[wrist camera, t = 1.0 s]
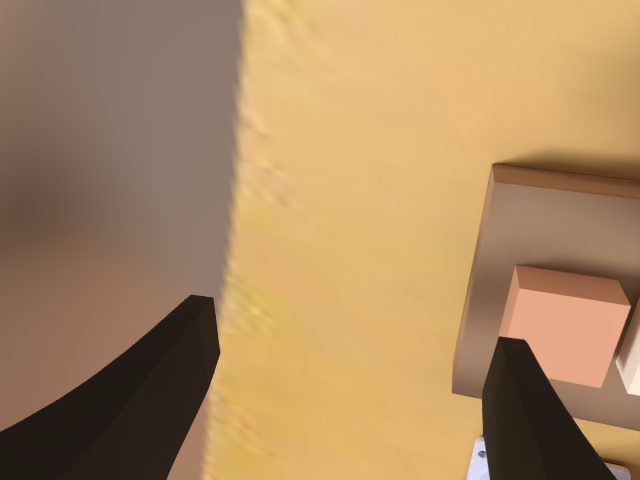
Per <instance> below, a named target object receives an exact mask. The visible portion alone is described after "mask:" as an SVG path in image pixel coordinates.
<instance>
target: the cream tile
mask: <svg viewBox="0 0 640 480" xmlns="http://www.w3.org/2000/svg"><path fill="white" fill-rule="evenodd" d="M616 365H617V368H618V370H619V373H620V375H621V378H622V380H623V383H624V386H625V388H626V391H627V393H628V394H633V395H639V396H640V298H639V301H638V303H637V306H636V309H635V311H634V314H633V317H632V319H631V322H630V325H629V328H628V330H627V333H626V336H625V338H624V341H623V344H622V346H621V349H620V352H619V354H618V357H617V360H616Z"/></svg>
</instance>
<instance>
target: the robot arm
mask: <svg viewBox="0 0 640 480" xmlns="http://www.w3.org/2000/svg"><path fill="white" fill-rule="evenodd" d="M219 356H220V347H219V339H218V331H217V323H216V315H215V307H214V299H213V298H212V297H205V296H197V295H190V296H189V297H188V298H187V299H185V300H184V301H183V302H182V303H181V304H179V306H177V307H176V308H175V309H174V310H173V311H172V312H170V313H169V314H168V315H167V316H166V317H165V318H164V319H163V320H161V321H160V322H159V323H158V324H157V325H156V326H155V327H154V328H152V329H151V330H150V331H149V332H148V333H147V334H145V335H144V336H143V337H142V338H141V339H139V340H138V341H137V342H136V343H135V344H134V345H132V346H131V347H130V348H129V349H128V350H126V351H125V352H124V353H123V354H121V355H120V356H119V357H117V358H116V359H115V360H114V361H112V362H111V363H110V364H108V365H107V366H106V367H104V368H103V369H102V370H101V371H99V372H98V373H97V374H95V375H94V376H92V377H91V378H89V379H88V380H87V381H85V382H84V383H82V384H81V385H79V386H78V387H77V388H75V389H73V390H72V391H71V392H69V393H68V394H66V395H64V396H63V397H61V398H60V399H58V400H56V401H55V402H53V403H51V404H50V405H48V406H46V407H45V408H43V409H41V410H39V411H37V412H36V413H34V414H32V415H30V416H29V417H27V418H25V419H24V420H22V421H20V422H18V423H16V424H15V425H13V426H11V427H9V428H7V429H5V430H3V431H1V432H0V480H166V479H167V477H168V474H169V472H170V469H171V467H172V465H173V463H174V461H175V459H176V456H177V454H178V452H179V450H180V448H181V446H182V444H183V442H184V440H185V437H186V436H187V433H188V431H189V429H190V427H191V425H192V423H193V421H194V419H195V417H196V415H197V412H198V410H199V408H200V406H201V404H202V402H203V400H204V398H205V395H206V393H207V391H208V389H209V386H210V383H211V380H212V377H213V374H214V371H215V368H216V365H217V362H218V359H219ZM482 415H483V435H484V437H479V438H477V439H476V441H475V445H474V449H473V453H472V457H471V461H470V465H469V469H468V474H467V478H466V480H631V475H630V472H629V470H628V469H627V468H625V467H623V466H618V465H614V464H609V463H604V462H603V460H602V459H601V458H600V456H599V455H598V454H597V452H596V451H595V450H594V448H593V447H592V445H591V444H590V443H589V441H588V440H587V438H586V437H585V436H584V434H583V433H582V431H581V430H580V428H579V427H578V426H577V424H576V423H575V421H574V420H573V418H572V416H571V415H570V413H569V412H568V410H567V409H566V407H565V406H564V404H563V403H562V401H561V399H560V398H559V396H558V395H557V393H556V391H555V390H554V388H553V386H552V385H551V383H550V381H549V380H548V378H547V376H546V375H545V373H544V371H543V369H542V368H541V366H540V364H539V362H538V361H537V359H536V357H535V355H534V353H533V351H532V350H531V348H530V346H529V344H528V343H527V342H526V340H524V339H517V338H509V337H502V336H499V337H498V340H497V344H496V347H495V350H494V354H493V357H492V360H491V364H490V367H489V370H488V374H487V377H486V380H485V384H484V387H483V391H482ZM480 451H485V452H480Z"/></svg>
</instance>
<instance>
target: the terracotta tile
mask: <svg viewBox="0 0 640 480" xmlns="http://www.w3.org/2000/svg"><path fill="white" fill-rule="evenodd" d="M630 307H631V305H630V303H629V301H628V299H627V297H626V295H625V293H624V291H623V289H622V287H621V286H620V284H619V282H618V280H614V279H607V278H600V277H594V276H587V275H580V274H574V273H567V272H561V271H554V270H547V269H541V268H534V267H528V266H521V265H515V269H514V273H513V277H512V281H511V285H510V290H509V294H508V298H507V302H506V306H505V310H504V315H503V319H502V323H501V327H500V331H499V336H502V337H509V338H517V339H524V340H526V342H527V343H528V344H529V346H530V348H531V350H532V351H533V353H534V355H535V357H536V359H537V361H538V362H539V364H540V366H541V368H542V369H543V371H544V373H545V375H546V376H547V378H549V379H555V380H560V381H565V382H570V383H576V384H581V385H586V386H591V387H597V388H601V387H602V384H603V381H604V379H605V376H606V373H607V370H608V368H609V365H610V362H611V359H612V357H613V354H614V351H615V348H616V346H617V343H618V340H619V338H620V335H621V332H622V329H623V327H624V324H625V321H626V318H627V316H628V313H629V310H630ZM499 336H498V337H499Z"/></svg>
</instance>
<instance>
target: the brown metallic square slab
mask: <svg viewBox="0 0 640 480" xmlns="http://www.w3.org/2000/svg"><path fill="white" fill-rule="evenodd" d="M515 265H521V266H528V267H534V268H541V269H547V270H554V271H561V272H567V273H574V274H580V275H587V276H594V277H600V278H607V279H614V280H618V282H619V284H620V286H621V287H622V289H623V291H624V293H625V295H626V297H627V299H628V301H629V303H630V305H631V307H630V310H629V313H628V316H627V318H626V321H625V324H624V327H623V329H622V332H621V335H620V338H619V340H618V343H617V346H616V348H615V351H614V354H613V357H612V359H611V362H610V365H609V368H608V370H607V373H606V376H605V379H604V381H603V384H602V387H601V388H597V387H591V386H586V385H581V384H576V383H570V382H565V381H560V380H555V379H549V378H548V380H549V381H550V383H551V385H552V386H553V388H554V390H555V391H556V393H557V395H558V396H559V398H560V399H561V401H562V403H563V404H564V406H565V407H566V409H567V410H568V412H569V413H570V415H571V416H572V418H577V419H582V420H587V421H592V422H597V423H602V424H607V425H612V426H617V427H622V428H626V429H631V430H636V431H640V396H639V395H633V394H628V393H627V391H626V388H625V386H624V383H623V380H622V378H621V375H620V373H619V370H618V368H617V365H616V360H617V357H618V354H619V352H620V349H621V346H622V344H623V341H624V338H625V336H626V333H627V330H628V328H629V325H630V322H631V319H632V317H633V314H634V311H635V309H636V306H637V303H638V301H639V298H640V181H638V180H629V179H621V178H612V177H603V176H594V175H586V174H577V173H568V172H560V171H551V170H542V169H533V168H525V167H516V166H507V165H499V164H492V167H491V172H490V177H489V182H488V187H487V193H486V198H485V203H484V208H483V213H482V218H481V223H480V228H479V233H478V238H477V243H476V248H475V253H474V258H473V263H472V268H471V274H470V279H469V284H468V289H467V294H466V299H465V304H464V309H463V314H462V319H461V324H460V329H459V334H458V339H457V344H456V350H455V355H454V360H453V377H452V393H454V394H459V395H464V396H469V397H474V398H479V399H482V391H483V387H484V384H485V380H486V377H487V374H488V370H489V367H490V364H491V360H492V357H493V354H494V350H495V347H496V344H497V340H498V336H499V331H500V327H501V323H502V319H503V315H504V310H505V306H506V302H507V298H508V294H509V290H510V285H511V281H512V277H513V273H514V269H515Z"/></svg>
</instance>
